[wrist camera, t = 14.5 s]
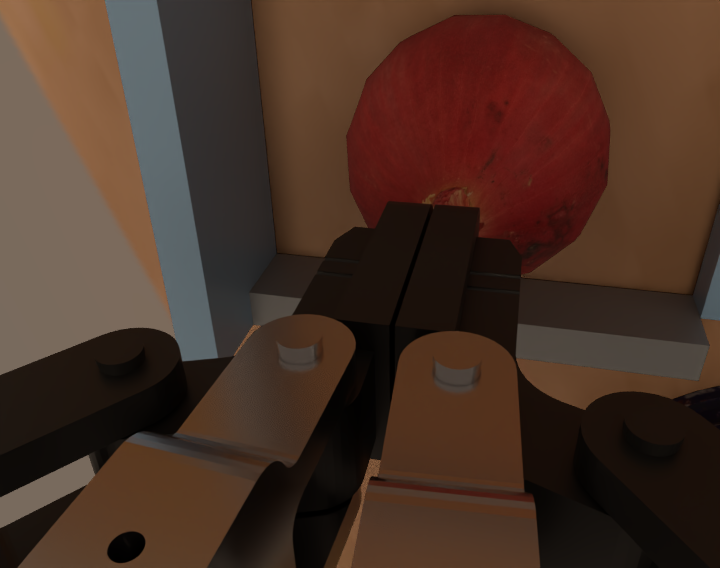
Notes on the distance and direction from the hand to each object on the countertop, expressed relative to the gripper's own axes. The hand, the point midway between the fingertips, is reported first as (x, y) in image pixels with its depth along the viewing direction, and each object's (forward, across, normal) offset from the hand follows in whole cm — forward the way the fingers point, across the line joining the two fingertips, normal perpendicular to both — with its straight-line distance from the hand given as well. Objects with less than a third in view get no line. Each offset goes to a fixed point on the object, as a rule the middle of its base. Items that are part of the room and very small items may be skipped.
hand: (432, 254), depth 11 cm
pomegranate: (+9, 0, 0) cm, 9 cm away
